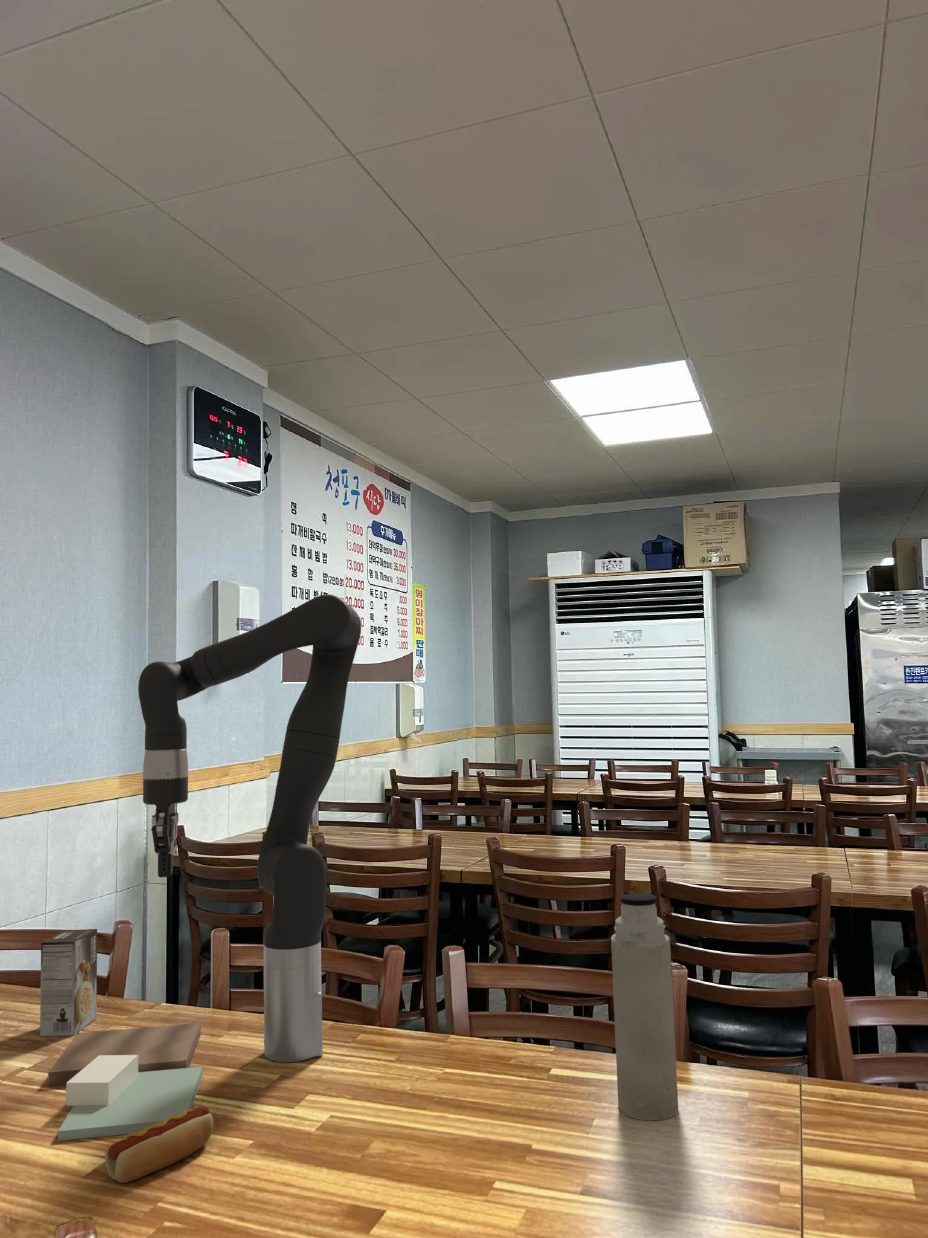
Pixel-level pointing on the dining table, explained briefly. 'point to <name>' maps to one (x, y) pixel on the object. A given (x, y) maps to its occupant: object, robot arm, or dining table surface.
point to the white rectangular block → (102, 1080)
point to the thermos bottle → (643, 1011)
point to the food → (158, 1145)
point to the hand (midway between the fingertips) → (165, 876)
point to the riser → (129, 1049)
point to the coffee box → (68, 982)
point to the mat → (135, 1105)
